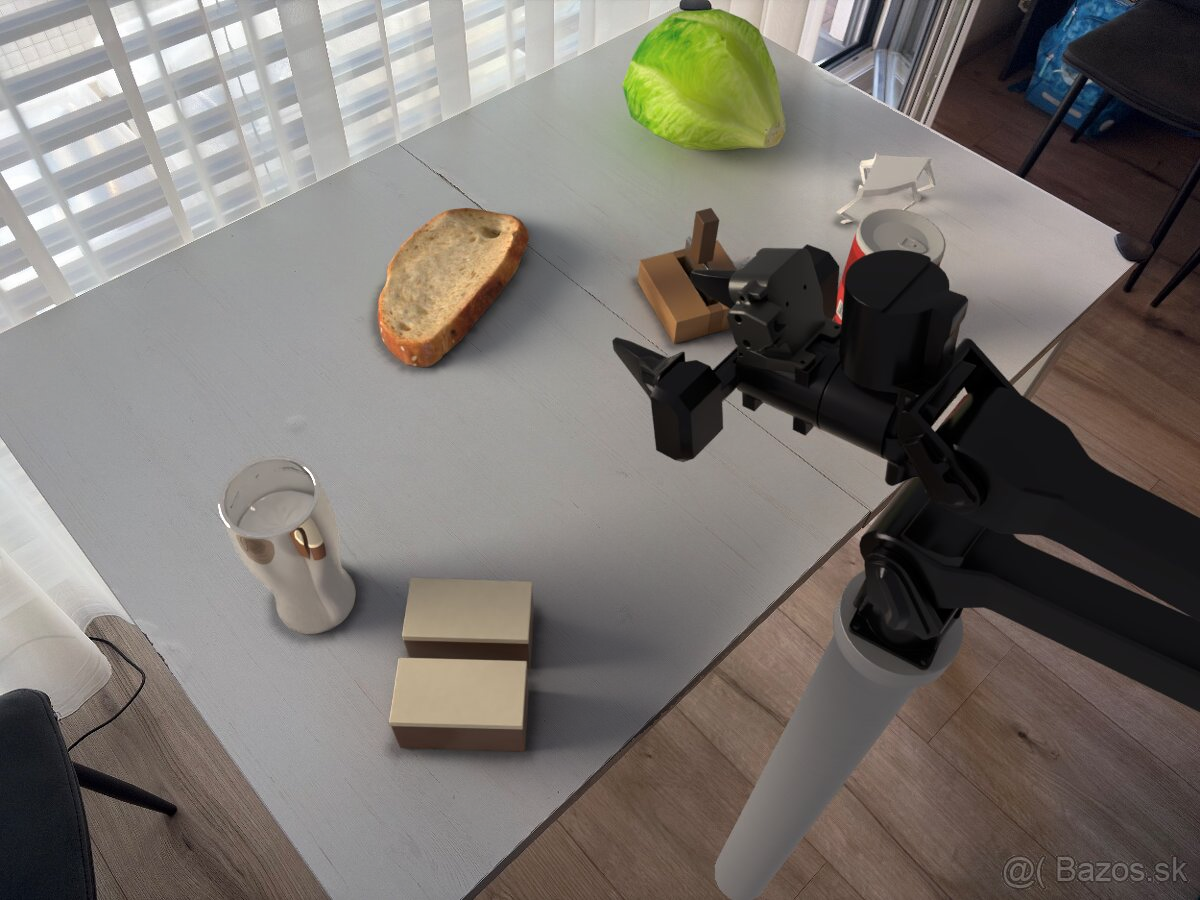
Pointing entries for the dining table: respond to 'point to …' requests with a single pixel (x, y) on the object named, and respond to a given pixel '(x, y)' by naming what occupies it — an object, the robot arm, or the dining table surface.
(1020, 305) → the dining table surface
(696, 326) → the cardboard box
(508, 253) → the slice of bread
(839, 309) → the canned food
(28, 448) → the dining table surface
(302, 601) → the beer glass
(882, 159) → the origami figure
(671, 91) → the lettuce
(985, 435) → the robot arm
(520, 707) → the beige twin blocks
